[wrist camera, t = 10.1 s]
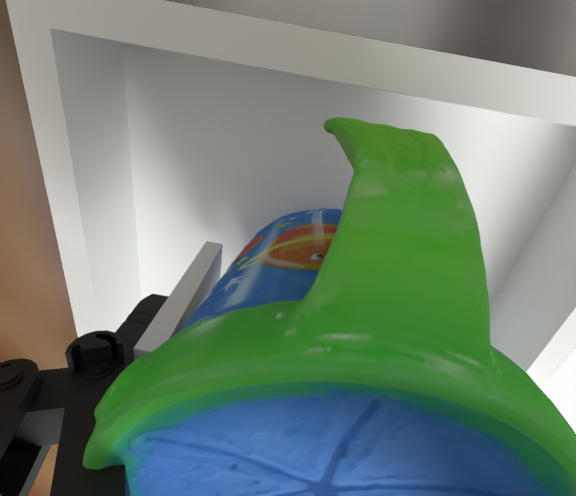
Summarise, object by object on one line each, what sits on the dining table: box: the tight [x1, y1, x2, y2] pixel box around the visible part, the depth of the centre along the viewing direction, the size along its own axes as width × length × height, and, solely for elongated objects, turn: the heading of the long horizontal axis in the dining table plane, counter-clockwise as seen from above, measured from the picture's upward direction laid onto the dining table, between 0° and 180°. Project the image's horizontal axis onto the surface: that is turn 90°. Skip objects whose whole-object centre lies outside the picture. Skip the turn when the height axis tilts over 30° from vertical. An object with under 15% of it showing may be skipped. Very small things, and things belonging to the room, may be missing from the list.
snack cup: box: [83, 117, 576, 496], centre depth 11 cm, size 16×10×10 cm
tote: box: [6, 0, 576, 389], centre depth 19 cm, size 22×32×5 cm
